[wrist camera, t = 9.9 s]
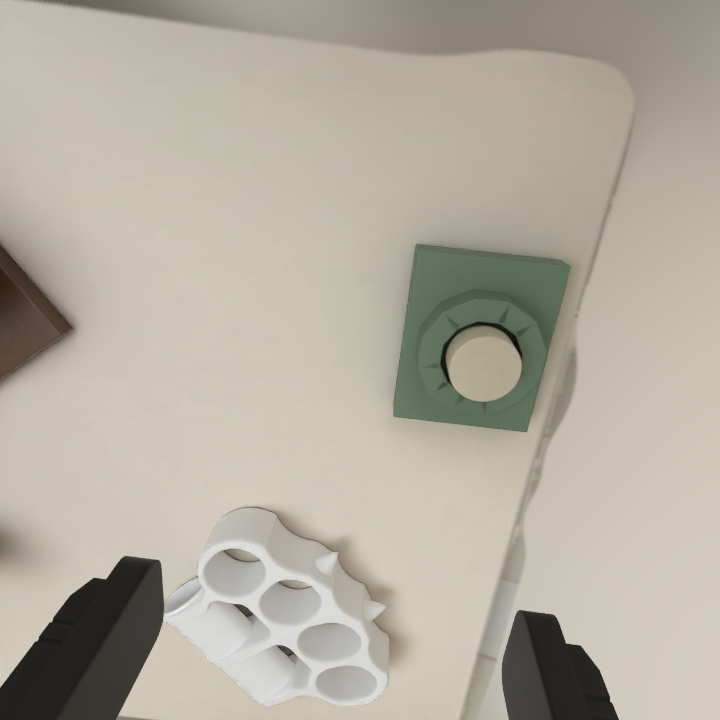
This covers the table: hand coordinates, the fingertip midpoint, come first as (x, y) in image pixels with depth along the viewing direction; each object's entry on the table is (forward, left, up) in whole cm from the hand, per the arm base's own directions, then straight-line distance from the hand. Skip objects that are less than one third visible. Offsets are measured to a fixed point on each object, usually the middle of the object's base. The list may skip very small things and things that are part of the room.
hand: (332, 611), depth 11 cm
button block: (+4, +5, -20) cm, 21 cm away
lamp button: (+4, +5, -17) cm, 18 cm away
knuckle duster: (+16, -17, -20) cm, 31 cm away
